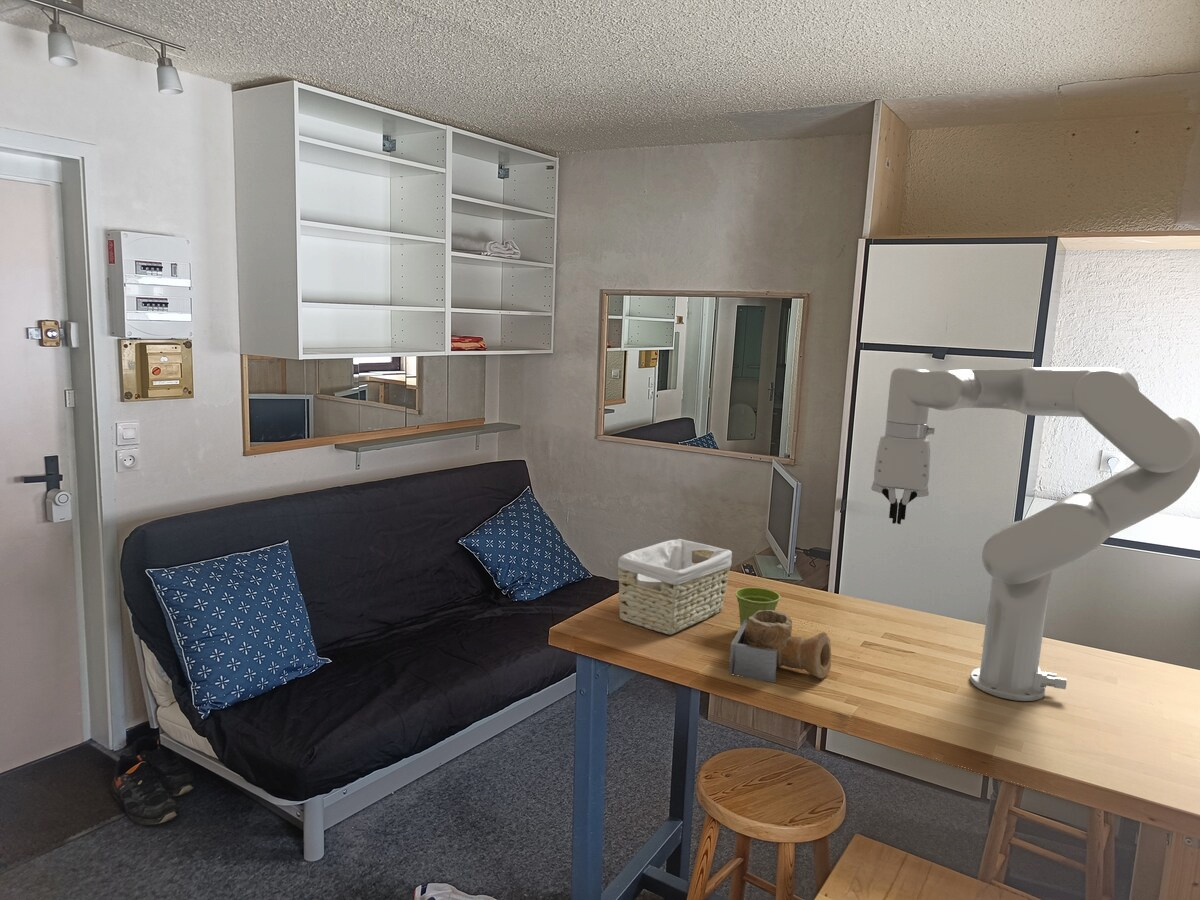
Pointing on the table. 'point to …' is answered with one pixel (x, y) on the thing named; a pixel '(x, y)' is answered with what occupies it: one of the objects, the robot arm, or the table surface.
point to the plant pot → (755, 601)
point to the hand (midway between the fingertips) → (896, 522)
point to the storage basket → (672, 584)
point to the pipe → (789, 643)
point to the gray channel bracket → (752, 659)
